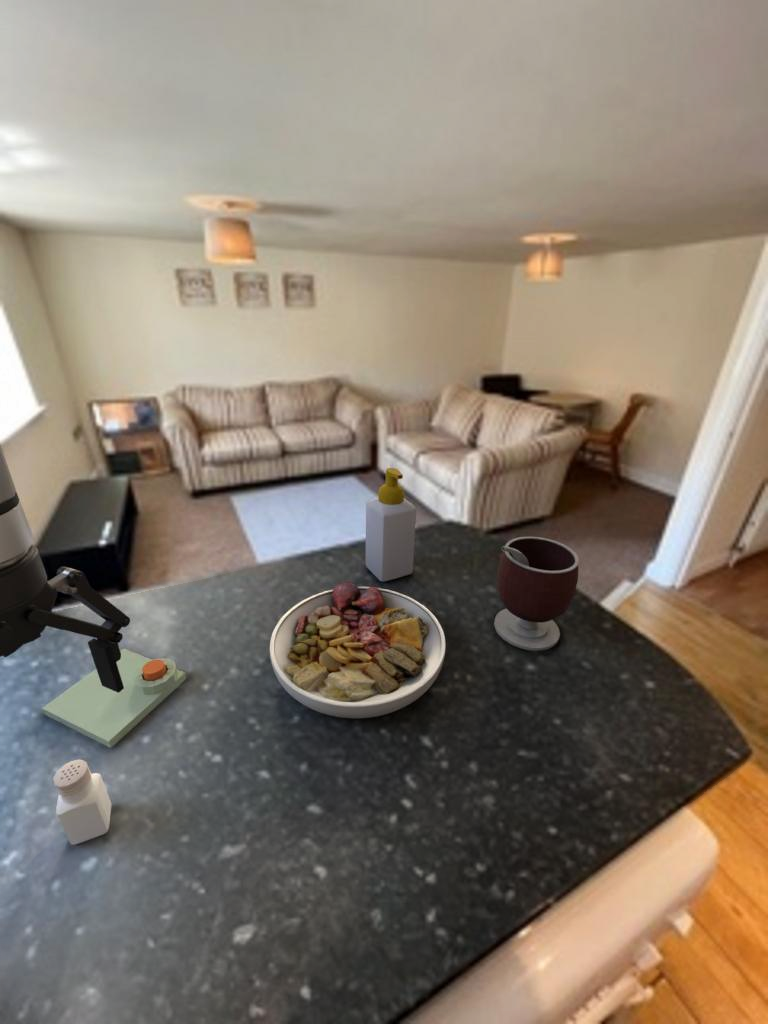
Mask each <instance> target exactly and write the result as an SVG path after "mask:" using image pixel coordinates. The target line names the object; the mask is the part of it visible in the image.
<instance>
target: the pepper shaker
mask: <svg viewBox="0 0 768 1024" xmlns="http://www.w3.org/2000/svg"><path fill="white" fill-rule="evenodd" d="M53 785H54V787H55V789H56V791H57V794H58V796H57V801H56V807H55V814H56V816H57V818H58V820H59V823H60V825H61V827H62V829H63V831H64V833H65V835H66V838H67V840H68V842H69V844H70V845H72V846H75V845H78V844H81V843H84V842H87V841H89V840H92V839H95V838H97V837H100V836H103V835H105V834H106V833H108V831H109V828H110V823H111V813H112V802H111V798H110V796H109V794H108V790H107V789H106V785H105V783H104V781H103V777H102V775H101V774H100V773H99V772H93V773H92V772H91V770H90V767H89V765H88V762H87V761H85V760H83V759H74V760H73V759H72V760H71V761H68V762H67V763H64V764H63V765H62V766H61V767H60V768H59V769H57V771H56V772H55V774H54V776H53Z"/></svg>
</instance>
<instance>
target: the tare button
mask: <svg viewBox="0 0 768 1024" xmlns="http://www.w3.org/2000/svg"><path fill="white" fill-rule="evenodd" d="M155 659H156V660H155ZM155 659H152V661H149V662H148V663H146V664H145V665H144V666H143V669H142V671H143V675H144V678H145V680H147V681H155V680H158V679H160V678H162V677H163V676H164V675H165V673H166V667H165V663H164V661H162V660H159V659H160V658H155Z"/></svg>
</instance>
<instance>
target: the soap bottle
mask: <svg viewBox="0 0 768 1024" xmlns="http://www.w3.org/2000/svg"><path fill="white" fill-rule="evenodd" d="M403 478H404V475H403V473H402V472H401V471H400V470H399V469H398V468H396V467H388V468H386V469H385V483H383V484H382V485H381V486H379V489H378V493H377V496H376V497H373V498H371V499H369V500H367V501H366V502H365V567H366V568H367V569H368V570H369V571H370V572H371V573H372V574H373V575H374V576H375V577H376V579H377V580H379V581H380V582H383V583H385V582H389V581H392V580H396V579H399V578H400V579H401V578H403V577H406V576H410V575H411V574H412V573H414V571H413V570H414V555H415V541H416V540H415V538H416V522H417V521H416V519H417V509H416V506H415V505H414V504H412V503H411V502H410V501H408V500H407V499H405V490H404V488H403V487H402V485H400V484H399V480H403Z"/></svg>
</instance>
